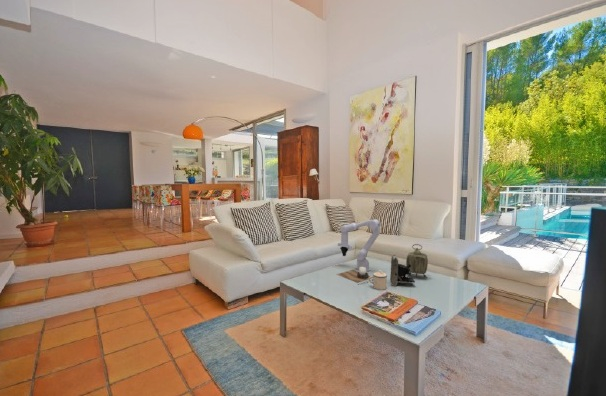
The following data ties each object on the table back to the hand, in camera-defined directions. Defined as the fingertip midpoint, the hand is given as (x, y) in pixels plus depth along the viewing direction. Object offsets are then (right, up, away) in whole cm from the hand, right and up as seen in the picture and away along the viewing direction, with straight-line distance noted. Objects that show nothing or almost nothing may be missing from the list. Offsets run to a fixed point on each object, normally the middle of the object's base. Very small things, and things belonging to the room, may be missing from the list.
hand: (344, 255), depth 230 cm
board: (+5, -12, -22) cm, 26 cm away
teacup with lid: (+17, -13, -41) cm, 46 cm away
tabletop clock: (+51, -12, -22) cm, 57 cm away
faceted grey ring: (+10, -10, -25) cm, 29 cm away
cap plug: (+10, -10, -25) cm, 29 cm away
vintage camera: (+36, -13, -36) cm, 52 cm away
